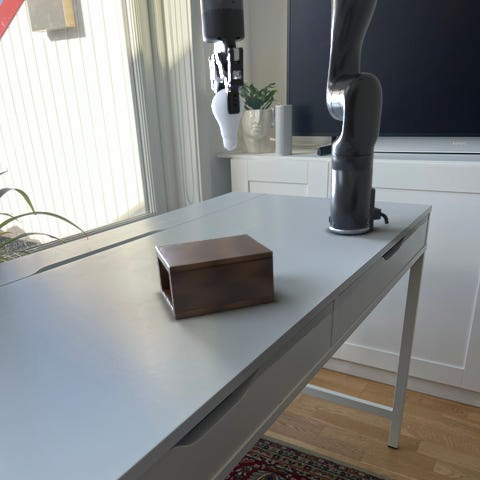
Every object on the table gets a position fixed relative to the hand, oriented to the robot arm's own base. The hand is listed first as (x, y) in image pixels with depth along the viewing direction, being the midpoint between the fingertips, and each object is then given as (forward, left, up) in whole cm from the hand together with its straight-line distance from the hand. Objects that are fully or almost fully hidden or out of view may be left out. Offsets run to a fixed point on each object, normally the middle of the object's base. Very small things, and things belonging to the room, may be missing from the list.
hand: (228, 113), depth 91 cm
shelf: (+11, +23, -27) cm, 37 cm away
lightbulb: (0, 0, -7) cm, 7 cm away
